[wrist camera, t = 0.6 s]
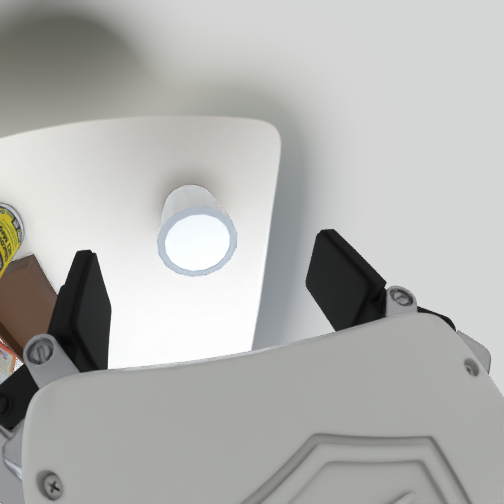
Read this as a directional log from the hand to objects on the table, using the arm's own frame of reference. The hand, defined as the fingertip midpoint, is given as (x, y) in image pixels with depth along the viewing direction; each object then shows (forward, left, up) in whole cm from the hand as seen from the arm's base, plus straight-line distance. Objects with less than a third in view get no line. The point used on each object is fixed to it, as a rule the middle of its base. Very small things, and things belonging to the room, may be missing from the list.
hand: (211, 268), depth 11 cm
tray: (+14, -27, -18) cm, 35 cm away
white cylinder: (+6, 0, -18) cm, 19 cm away
